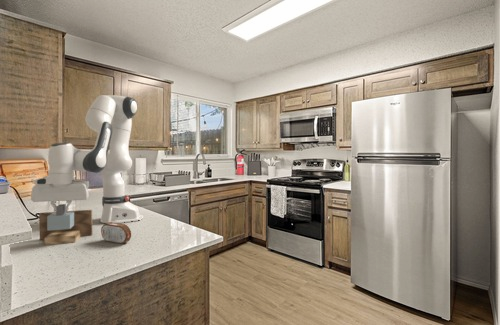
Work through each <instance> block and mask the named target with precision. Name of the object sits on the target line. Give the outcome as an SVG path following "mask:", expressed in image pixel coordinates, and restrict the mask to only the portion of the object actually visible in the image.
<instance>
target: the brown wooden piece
mask: <svg viewBox="0 0 500 325" xmlns="http://www.w3.org/2000/svg"><path fill="white" fill-rule="evenodd" d="M68 212H74V226H73V227H72V228H70V229H63V230H49V231H47V216H49V215H51V214H52V213H56V211H55V212H54V211H49V212H40V213H39V214H38V216H39V219H38V220H39V227H38V228H39V241H44V246H49V245H58V244H59V245H60V244H70V243H76V242H77V241H78V240H79V238H81V237H87V236H89V237H90V236H93V209H82V210H68V211H66V213H68Z"/></svg>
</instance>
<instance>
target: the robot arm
mask: <svg viewBox="0 0 500 325" xmlns="http://www.w3.org/2000/svg"><path fill="white" fill-rule="evenodd" d="M138 106H139V105H138V103H137V101H136V99H135V98H133V97H130V96H123V95H120V94H119V95H118V94H117V95H116V94H114V95H113V94H100V95H98V96H97V97H96V98H95V99H94V101H93V102H92V103H91V105H90V106H89V108H88V110H87V112H86V114H85V118H84V121H85V123H86V126H87V127H88V128H89V129H91V130H92V131H94V132H95V133H97V136H96V139H95V142H94V146H93V148H92V149H91V150H81V149H79V148H77V147H75V146H74V145H73V144H72V143H71V142H55V143H53V144H51V145H50V146H49V149H48V154H47V155H48V158H47V159H48V160H47V161H48V166H49V169H48V172H47V173H48V174H47V176H42V177H40V178H36V179H34V180H33V184H34V186H33V187H32V188H31V194H30V200H31V201H32V202H33V203H39V202H40V203H43V202H45V203H46V202H50V205H51V206H52V208H53V212H56V206H57V205H56V203H57V202H65V204H66V206H65V207H63V209H64V210H63V211H70V210H69V206H70V205H71V204H72V201H86V200H88V199H89V187H90V182H89V181H88V180H86V179H85V178H84V179H83V178H82V179H78V178H77V179H75V178H74V177H75V176H74V175H75V174H74V172H77V171H78V172H88V173H94V174H95V173H96V174H97V173H100V176H101V181H102V193H103V195H102V197H101V198H102V199H101V202H102V203H101V204H102V213H101V217H100V220H99V221H100V223H101V224H102V223H103V224H107V223H109V222H114V223H121V224H125V223H132V222H131V221H133V222H139V221H138V220H140V221H142V220H143V219H144V215H143V214H142V213H140V210H139V208H138V206H137V205H135V204H134V203H132V202H130V196H129V195H127V194H126V186H125V184H126V183H125V180H124V179H123V177H122V174H121V173H125V172H128V171H130V170H131V168H132V167H133V160H132V158H131V155H130V152H129V145H130V144H129V143H130V139H131V133H132V127H133V126H132V125H133V121H132V120H133V117H134V116H135V115H136V113H137V112H138V108H139V107H138ZM142 218H143V219H142ZM141 219H142V220H141ZM124 222H125V223H124Z"/></svg>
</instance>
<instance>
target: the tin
mask: <svg viewBox="0 0 500 325" xmlns="http://www.w3.org/2000/svg"><path fill="white" fill-rule="evenodd" d="M100 232H101V237H102V239H103V240H104V241H105V242H108V243H115V244H119V245H122V244H125V243H128V242H129V241H130V240H131V238H132V231H131V229H130V228H129V226H128V224H125V223H114V222H109V223H103V225H102V226H101V229H100Z"/></svg>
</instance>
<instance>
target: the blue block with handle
mask: <svg viewBox="0 0 500 325" xmlns="http://www.w3.org/2000/svg"><path fill="white" fill-rule="evenodd" d="M65 206H67V203H60V204H59V205H56V211H55V212H56V213H52V214H51V215H49V216H47V231H49V230H63V229H70V228H72V227H73V226H74V212H68V213H66V211H63V210H64V209H63V207H65Z"/></svg>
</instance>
